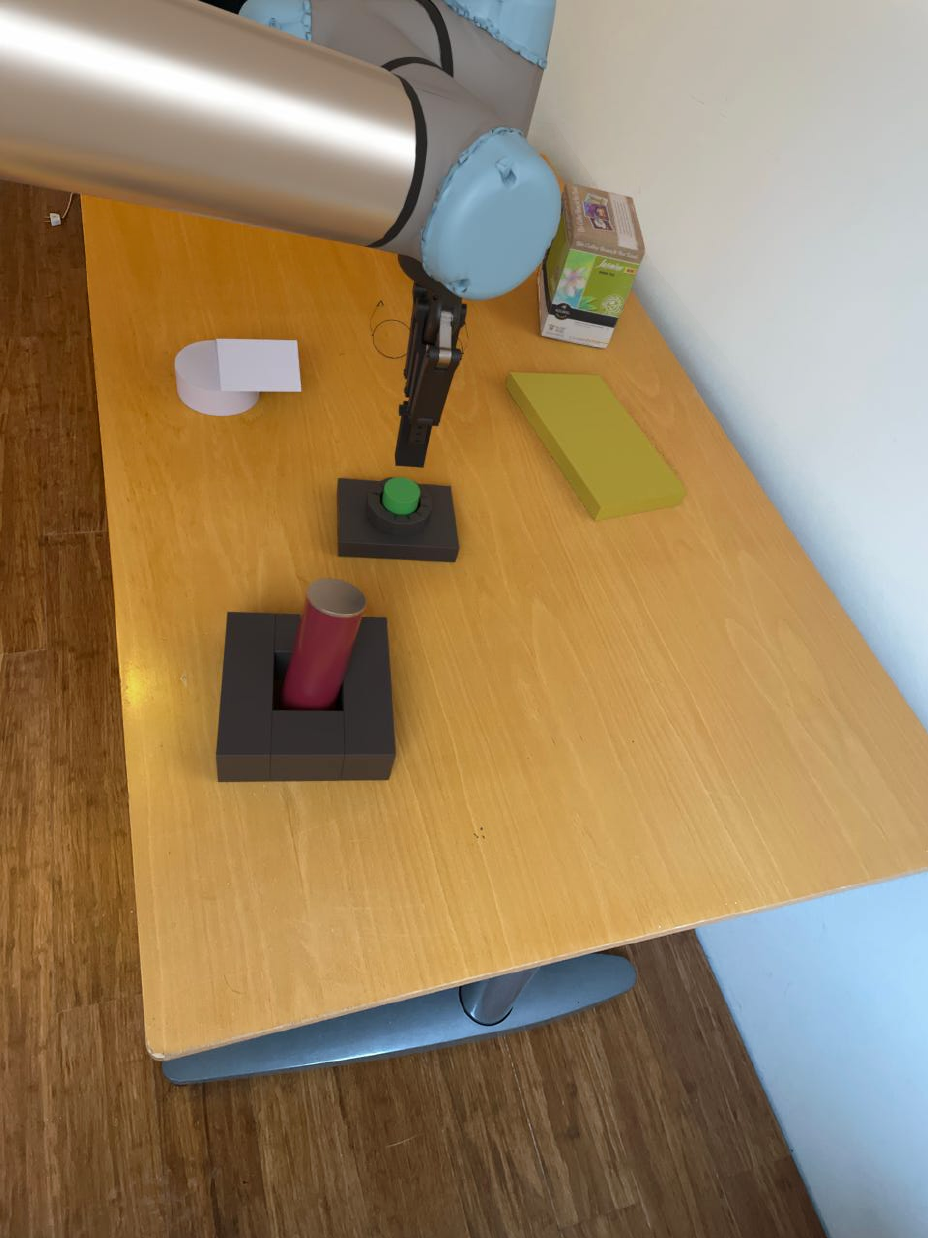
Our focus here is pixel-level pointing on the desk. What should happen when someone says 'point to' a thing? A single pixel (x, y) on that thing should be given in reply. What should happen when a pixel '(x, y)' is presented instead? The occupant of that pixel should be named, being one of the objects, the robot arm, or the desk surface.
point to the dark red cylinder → (322, 645)
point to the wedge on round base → (235, 373)
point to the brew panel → (395, 523)
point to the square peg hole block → (302, 739)
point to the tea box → (589, 266)
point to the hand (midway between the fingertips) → (409, 461)
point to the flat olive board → (596, 444)
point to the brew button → (401, 496)
